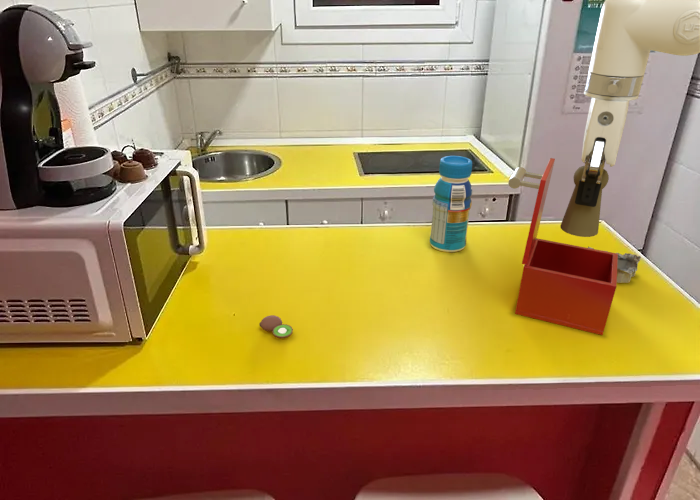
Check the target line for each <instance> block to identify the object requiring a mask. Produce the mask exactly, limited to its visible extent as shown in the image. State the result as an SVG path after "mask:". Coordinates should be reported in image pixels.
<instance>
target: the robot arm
mask: <svg viewBox="0 0 700 500" xmlns="http://www.w3.org/2000/svg"><path fill="white" fill-rule="evenodd" d="M651 51H652V52H659V53H664V54H667V55H673V56H679V57H680V56H681V57H684V56H685V57H687V56H694V55H698V54H700V0H604V1H603V4H602V7H601V10H600V15H599V20H598V25H597V29H596V34H595V38H594V43H593V48H592V54H591V58H590V62H589V67H588V71H587V72H588V73H587V77H586V81H585V85H584V91H583V95H584V96H586V97H589V98H591V99H590V103H589V108H588V112H587V116H586V117H587V118H586V123H585V128H584V134H583V140H582V149H581V150H582V151H581V158H580V159H581V162H582V163H583V164H584V166H585V167H584V171H583V175H582V180H580V181H579V186H578V190H577V195H576V199H575V204H578V205H584V206H590V207H595V206H596V204H597V200H598V196H599V192H600V188H601V184H602V183H600V181H601V177H602V173H603V169H605V165H609V167H610V168H613V167H614V166H615V165H616V162H617V157H618V153H619V149H620V145H621V142H622V137H623V133H624V129H625V125H626V121H627V118H628V117H627V116H628V112H629V105H630V101H635V100H638V99H639V96H640V93H641V89H642V84H643V81H644V78H645V72H646V69H647V65H648V61H649V57H650V54H651ZM588 166H590V169H589V168H588ZM599 167H600V169H599ZM598 169H599V170H598Z"/></svg>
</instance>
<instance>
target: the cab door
mask: <svg viewBox="0 0 700 500" xmlns="http://www.w3.org/2000/svg"><path fill="white" fill-rule="evenodd" d="M555 161H556V158H552V157H550V159H549V160H548V163H547V165H546V166H545V169H544V172H543V174H539V173H535V172H528V171H527V170H526V168H524V167H523V166H518V167H517V168H515V170H514V171H513V173H512V175H511V176H510V178H509V179H508V181H507V183H508V186H509V188H511V189H519V187H526V188H530V189H536V190H538V191H537V194H536V200H535V204H534V207H533V213H532V216H531V220H530V226H529V230H528V233H527V234H528V235H527V239H526V244H525V247H524V251H523V257H522V261H521V264H522V265H527V262H528V259H529V257H530V254H531V251H532V248H533V246H534V243H535V240H536V238H538V233H539V229H540V226H541V225H540V224H541V220H542V217H543V212H544V207H545V204H546V199H547V194H548V192H549V188H550V187H549V186H550V181H551V178H552V174H553V170H554V166H555ZM525 178H529V179H530V178H531V179H536V180H539V181H540V182H539V183H536V182H532V181H531V182H530V181H526V180H524V179H525Z"/></svg>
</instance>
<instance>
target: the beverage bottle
mask: <svg viewBox="0 0 700 500" xmlns="http://www.w3.org/2000/svg"><path fill="white" fill-rule="evenodd" d="M472 171H473V160H471V159H470V158H468V157H466V156H460V155H447V156H443V157H441V158H440V161H439V168H438V173H439V174H438V175H439V176H440V177H439V178H438V180H437V181H436V183H435V184H434V188H433V192H434V195H433V198H432V201H431V205H432V216H431V228H430V236H429V244H430V246H431V247H432V248H433V249H435V250H437V251H440V252H444V253H457V252H460V251H463V250H464V249H465V248H466V246H467V235H468V226H469V218H470V211H471V209H472V205H473V201H472V197H471V196H472V195H473V192H474V191H473V186H472V184H471V181H470V180H469V179H470V177H471V176H472Z"/></svg>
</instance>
